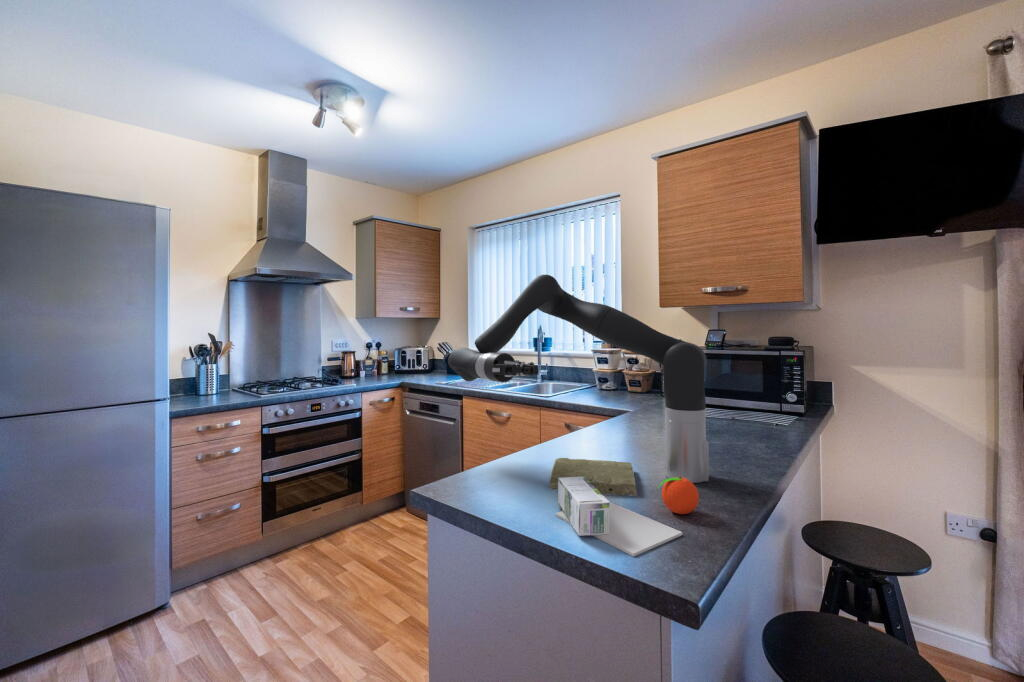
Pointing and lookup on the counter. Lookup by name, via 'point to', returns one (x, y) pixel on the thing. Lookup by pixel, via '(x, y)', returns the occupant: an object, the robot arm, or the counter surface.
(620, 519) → the white rectangular slab
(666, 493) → the clementine
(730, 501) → the counter surface
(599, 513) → the syrup box
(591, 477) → the decorative tile
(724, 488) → the counter surface
